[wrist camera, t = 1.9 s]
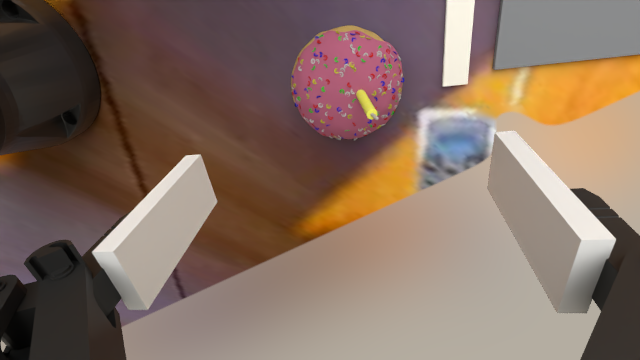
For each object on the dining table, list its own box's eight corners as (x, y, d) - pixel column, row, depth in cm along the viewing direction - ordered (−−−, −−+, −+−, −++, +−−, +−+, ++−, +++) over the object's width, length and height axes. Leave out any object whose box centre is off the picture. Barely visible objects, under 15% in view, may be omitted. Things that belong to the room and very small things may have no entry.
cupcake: (390, 6, 27) (407, 29, 17) (403, 107, 31) (424, 175, 21) (288, 33, 29) (247, 68, 19) (313, 125, 33) (291, 195, 23)
